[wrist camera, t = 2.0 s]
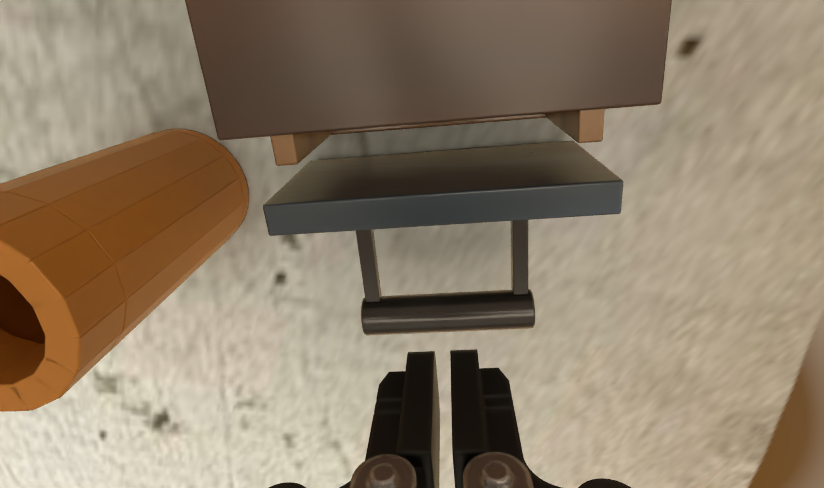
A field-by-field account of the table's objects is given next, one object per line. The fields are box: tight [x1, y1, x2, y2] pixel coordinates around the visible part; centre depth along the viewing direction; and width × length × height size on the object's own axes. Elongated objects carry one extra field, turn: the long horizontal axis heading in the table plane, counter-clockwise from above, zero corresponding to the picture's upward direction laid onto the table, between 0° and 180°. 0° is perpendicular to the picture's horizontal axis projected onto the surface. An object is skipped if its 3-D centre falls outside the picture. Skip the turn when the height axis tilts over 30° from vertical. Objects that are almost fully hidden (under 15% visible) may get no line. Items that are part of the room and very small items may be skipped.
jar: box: [0, 129, 249, 411], centre depth 20 cm, size 6×6×13 cm
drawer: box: [263, 109, 623, 335], centre depth 19 cm, size 20×12×7 cm, turn 5°
